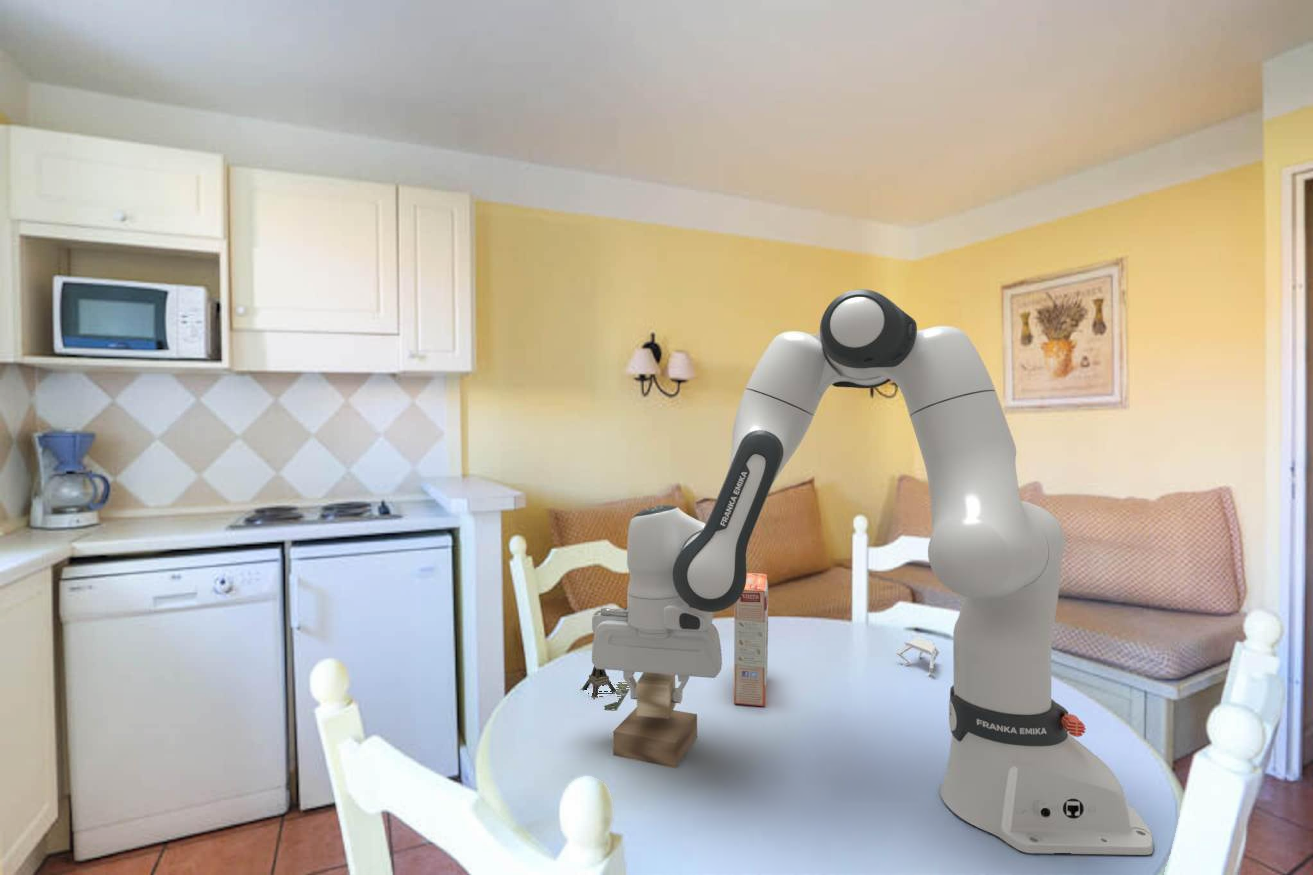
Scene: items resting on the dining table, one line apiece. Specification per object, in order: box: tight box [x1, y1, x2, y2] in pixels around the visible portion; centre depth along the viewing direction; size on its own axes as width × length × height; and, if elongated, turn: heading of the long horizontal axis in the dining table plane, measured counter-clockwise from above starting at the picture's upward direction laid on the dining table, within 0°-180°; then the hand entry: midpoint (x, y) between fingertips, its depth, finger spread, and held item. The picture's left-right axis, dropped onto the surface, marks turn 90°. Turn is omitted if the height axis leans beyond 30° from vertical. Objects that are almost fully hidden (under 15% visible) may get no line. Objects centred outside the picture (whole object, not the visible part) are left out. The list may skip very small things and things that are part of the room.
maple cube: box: [636, 672, 677, 719], centre depth 96 cm, size 5×5×5 cm
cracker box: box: [733, 572, 769, 707], centre depth 117 cm, size 14×6×21 cm, turn 168°
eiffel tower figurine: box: [580, 665, 630, 711], centre depth 117 cm, size 15×10×13 cm
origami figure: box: [895, 635, 940, 677], centre depth 128 cm, size 12×8×5 cm
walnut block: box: [612, 706, 698, 769], centre depth 96 cm, size 10×10×4 cm
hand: (656, 699), depth 96 cm, fingers closed on maple cube, 5 cm apart
